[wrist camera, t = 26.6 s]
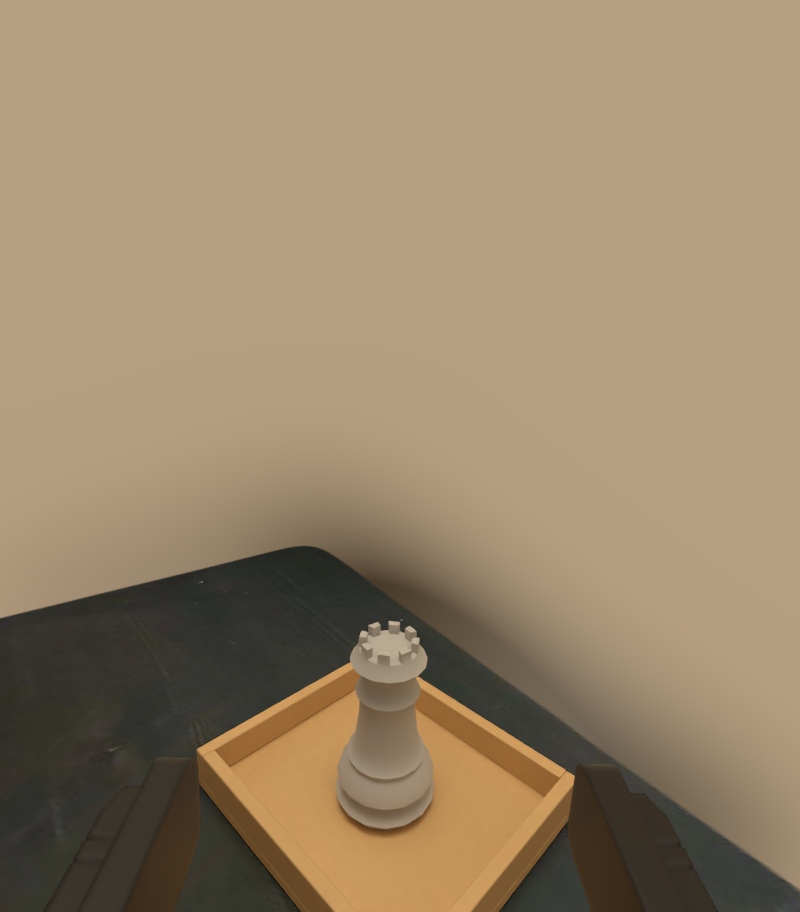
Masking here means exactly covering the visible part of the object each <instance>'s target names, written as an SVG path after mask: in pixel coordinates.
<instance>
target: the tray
mask: <svg viewBox="0 0 800 912" xmlns="http://www.w3.org/2000/svg"><path fill="white" fill-rule="evenodd" d="M360 677H361V676H360V675H359V674H358V673H357V672H356V671H355V670H354V669H353V668H352V665H351V662H350V663H348V664H346V665H344V666H343V667H341V668H339V669H337V670H336V671H334V672H332V673H330V674H329V675H327V676H325V677H323V678H322V679H320V680H318V681H316V682H314V683H313V684H311V685H309V686H307V687H306V688H304V689H302V690H300V691H299V692H297V693H295V694H293V695H292V696H290V697H288V698H286V699H285V700H283V701H281V702H279V703H277V704H276V705H274V706H272V707H270V708H269V709H267V710H265V711H263V712H262V713H260V714H258V715H256V716H255V717H253V718H251V719H249V720H248V721H246V722H244V723H242V724H240V725H239V726H237V727H235V728H233V729H232V730H230V731H228V732H226V733H225V734H223V735H221V736H219V737H218V738H216V739H214V740H212V741H211V742H209V743H207V744H205V745H203V746H202V747H200V748H198V749H197V760H198V773H199V784H200V786H201V787H202V788H203V789H204V791H205V792H206V793H207V794H208V796H209V797H210V798H211V799H212V801H213V802H214V803H215V804H216V806H217V807H218V808H219V809H220V811H221V812H222V813H223V814H224V816H225V817H226V818H227V819H228V821H229V822H230V823H231V824H232V826H233V827H234V828H235V829H236V831H237V832H238V833H239V834H240V836H241V837H242V838H243V839H244V841H245V842H246V843H247V844H248V846H249V847H250V848H251V849H252V851H253V852H254V853H255V855H256V856H257V857H258V858H259V860H260V861H261V862H262V863H263V865H264V866H265V867H266V868H267V870H268V871H269V872H270V873H271V875H272V876H273V877H274V878H275V880H276V881H277V882H278V883H279V885H280V886H281V887H282V888H283V890H284V891H285V892H286V893H287V895H288V896H289V897H290V898H291V900H292V901H293V902H294V903H295V905H296V906H297V907H298V908H299V910H300V911H301V912H499V911H500V910H501V908H502V907H503V906H504V904H505V903H506V902H507V900H508V899H509V898H510V896H511V895H512V894H513V893H514V891H515V890H516V889H517V887H518V886H519V885H520V883H521V882H522V881H523V879H524V878H525V877H526V875H527V874H528V873H529V871H530V870H531V869H532V868H533V866H534V865H535V864H536V862H537V861H538V860H539V858H540V857H541V856H542V854H543V853H544V852H545V850H546V849H547V848H548V846H549V845H550V844H551V843H552V841H553V840H554V839H555V837H556V836H557V835H558V833H559V832H560V831H561V829H562V828H563V827H564V825H565V824H566V823H567V821H568V820H569V812H570V805H571V799H572V792H573V785H574V778H575V776H574V775H572V774H571V773H569V772H567V771H566V770H565V769H563V768H562V767H560V766H558V765H557V764H555V763H554V762H552V761H550V760H549V759H547V758H546V757H544V756H543V755H541V754H539V753H538V752H536V751H535V750H533V749H531V748H530V747H528V746H527V745H525V744H524V743H522V742H520V741H519V740H517V739H516V738H514V737H512V736H511V735H509V734H508V733H506V732H505V731H503V730H501V729H500V728H498V727H497V726H495V725H493V724H492V723H490V722H489V721H487V720H486V719H484V718H482V717H481V716H479V715H478V714H476V713H474V712H473V711H471V710H470V709H468V708H467V707H465V706H463V705H462V704H460V703H459V702H457V701H455V700H454V699H452V698H451V697H449V696H448V695H446V694H444V693H443V692H441V691H440V690H438V689H436V688H435V687H433V686H432V685H430V684H429V683H427V682H425V681H424V680H422V679H421V678H419V677H416V679H417V680H418V683H419V685H420V688H421V690H420V695H419V698H418V699H417V700H416V701H415V712H416V721H417V729H418V733H419V734H420V735H421V737H422V740H423V743H424V745H425V746H426V747H427V749H428V752H429V755H430V757H431V760H432V764H433V767H434V769H433V776H432V778H433V781H434V790H433V797H432V801H431V802H430V804H429V805H428V807H427V808H426V810H425V811H424V813H423V814H422V815H421V816H419V817H418V818H416V819H415V820H413V821H412V822H410V823H408V824H407V825H405V826H404V827H402V828H396V829H391V830H386V831H384V830H379V829H373V828H368V827H366V826H364V825H363V824H361V823H360V822H358V821H356V820H355V819H353V818H352V817H350V816H349V815H348V814H347V813H346V811H345V810H344V808H343V807H342V805H341V804H340V802H339V801H338V797H337V790H336V781H337V778H338V770H337V767H338V764H339V761H340V758H341V755H342V752H343V749H344V747H345V746H346V745H347V744H348V743H349V740H350V737H351V735H352V734H353V733H354V732H355V731H356V725H357V719H358V713H359V699H358V698H357V696H356V691H355V686H356V684H357V681H358V679H359V678H360Z"/></svg>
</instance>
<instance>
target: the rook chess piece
mask: <svg viewBox="0 0 800 912" xmlns="http://www.w3.org/2000/svg"><path fill="white" fill-rule="evenodd" d="M416 633H417V631H416V630H414V629H413V628H412V627H410V626H409V627H407V628H405V633H402V632H400V622H393V621H389V630H386V631H380V624H379V623H378V622H377V623H374V624H371V625H368V632H365V631H362V632H361V634H360V636H359V644H358V645H357V646H356V647H355V648H354V649H353V651H352V653H351V656H350V661H351V665H352V668H353V669H354V670H355V671H356V672H357V673H358V674H359V675H360V676H361V677H360V678H359V679H358V681H357V684H356V686H355V691H356V696H357V698H358V699H359V713H358V719H357V725H356V731H355V732H354V733H353V734H352V735H351V737H350V740H349V743H348V744H347V745H346V746H345V747H344V749H343V752H342V755H341V758H340V761H339V764H338V767H337V770H338V778H337V781H336V790H337V797H338V801H339V802H340V804H341V805H342V807H343V808H344V810H345V811H346V813H347V814H348V815H349V816H350V817H352V818H353V819H355V820H356V821H358V822H360V823H361V824H363V825H364V826H366V827H368V828H373V829H379V830H384V831H386V830H391V829H396V828H402V827H404V826H405V825H407V824H408V823H410V822H412V821H413V820H415V819H416V818H418V817H419V816H421V815H422V814H423V813H424V811H425V810H426V808H427V807H428V805H429V804H430V802H431V801H432V797H433V790H434V781H433V778H432V776H433V769H434V767H433V764H432V760H431V757H430V755H429V752H428V749H427V747H426V746H425V745H424V743H423V740H422V737H421V735H420V734H419V733H418V729H417V721H416V712H415V701H416V700H417V699H418V698H419V695H420V690H421V688H420V685H419V683H418V680H417V679H416V677H417V676H418V675H419V674H420V673H421V672H422V671H423V670H424V669H425V668H426V664H427V659H428V658H427V656H426V653H425V651H424V649H423V648H422V647H421V646H420V645H419V639H420V638H416Z"/></svg>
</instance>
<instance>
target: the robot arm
mask: <svg viewBox="0 0 800 912" xmlns="http://www.w3.org/2000/svg"><path fill="white" fill-rule="evenodd" d="M200 825H201V808H200V795H199V782H198V770H197V762H196V759H195V758H173V757H158V758H157V759H156V760H155V761H154V762H153V764H152V766H151V768H150V770H149V772H148V773H147V775H146V777H145V779H144V781H143V783H142V785H141V786H125V787H124V788H123V789H122V790H121V791H120V792H119V793H118V794H117V795H116V796H114V797H113V798H112V799H111V800H110V801H109V802H108V803H107V804H106V805H105V806H104V807H103V808H102V809H101V811H100V813H99V815H98V816H97V818H96V820H95V822H94V823H93V825H92V827H91V829H90V830H89V832H88V834H87V837H86V840H85V841H83V843H82V844H81V846H80V848H79V850H78V851H77V853H76V855H75V857H74V861H73V863H72V864H70V866H69V867H68V869H67V871H66V873H65V874H64V876H63V878H62V880H61V881H60V883H59V885H58V887H57V888H56V890H55V892H54V894H53V895H52V897H51V899H50V901H49V902H48V904H47V906H46V908H45V909H44V911H43V912H174V909H175V906H176V903H177V900H178V898H179V895H180V892H181V889H182V886H183V884H184V881H185V878H186V875H187V872H188V870H189V867H190V864H191V861H192V858H193V855H194V853H195V850H196V846H197V842H198V838H199V832H200ZM568 831H569V840H570V846H571V851H572V855H573V858H574V861H575V864H576V867H577V870H578V873H579V876H580V879H581V882H582V885H583V888H584V891H585V894H586V897H587V900H588V903H589V906H590V909H591V912H718V910H717V908H716V907H715V905H714V903H713V901H712V899H711V897H710V895H709V894H708V892H707V890H706V888H705V886H704V884H703V882H702V881H701V879H700V877H699V875H698V873H697V871H694V869H693V864H692V862H691V860H690V858H689V857H688V855H687V853H686V851H685V849H684V848H682V846H681V842H680V840H679V838H678V836H677V834H676V833H675V831H674V829H673V827H672V825H671V823H670V821H669V820H668V818H667V816H666V815H665V814H664V813H663V812H662V811H661V810H660V809H659V808H658V807H657V806H656V805H655V804H654V803H653V802H652V801H651V800H650V799H649V798H648V797H647V796H646V795H645V794H634V793H630V791H629V789H628V787H627V785H626V783H625V781H624V779H623V777H622V775H621V773H620V771H619V769H618V768H617V767H616V766H615V765H606V764H579V765H578V766H577V768H576V771H575V778H574V785H573V792H572V799H571V805H570V812H569V820H568Z"/></svg>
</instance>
